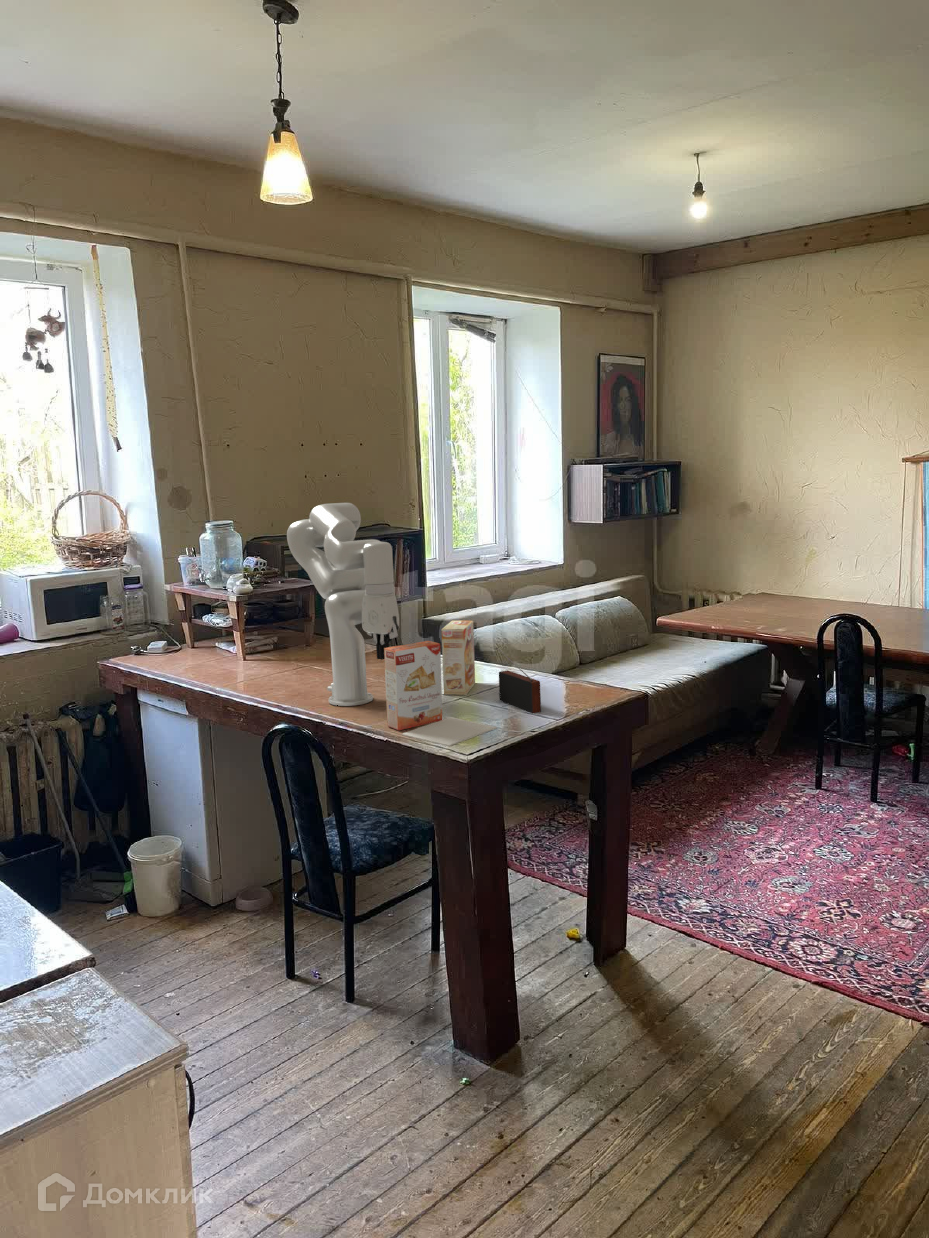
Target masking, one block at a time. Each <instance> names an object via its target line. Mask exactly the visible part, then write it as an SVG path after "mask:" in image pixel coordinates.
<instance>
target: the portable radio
mask: <svg viewBox="0 0 929 1238" xmlns="http://www.w3.org/2000/svg"><path fill="white" fill-rule="evenodd" d="M496 650H497V651H499V652H500V653H501V654H502V655H503V656H505V657H506V658H507V659H508V661H510V662H511V663H512V664H513V665H514V666H515V667H516V668H517V669H518V670H520V672H521V673H523V674H524V675H522V674H519V673H516V672H514V671H512V670H511V671H510V670H502V671H499V672H498V690H499V693H498V694H499V701H500V702H502V703H504V704H506V705H509V706H512V707H515V708H517V709H520V710H522V711H524V712H528V713H530V714H537V713H541V712H542V706H541V704H542V703H541V702H542V701H541V700H542V699H541V697H542V696H541V681H540V680H538V679H535V678H531V677H530V676H529V675H528V674H526V672H525V671H523V670H522V669H521V668H520V667H519V666H517V664H515V662H513V661H512V660H511V659H510V658H509V657H507V656H506V654H505V653H503V652H502V651H501V650H500V649H499V648H498V647H496Z"/></svg>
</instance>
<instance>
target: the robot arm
mask: <svg viewBox="0 0 929 1238" xmlns="http://www.w3.org/2000/svg"><path fill="white" fill-rule="evenodd" d="M308 517H309V518H306V519H301V520H297V521H295V522H292V523H291V524H290V525H289V526H288V529H287V531H286V539H287V545H288V548H289V550H290V552H291V555H292V556H293V558H294V559H295V561H296V562H297V563H298V564H299V565H300V566H301V568H302V569H304V571H305V572H306V573H307V574H308V577H309V579H310V581H311V582H312V583H313V585H314V587H315V589H316V590H317V592H318V594H319V595H320V596H321V597H322V598H323V599H324V600H325V602H324V612H325V613H324V614H325V617H326V621H327V626H328V631H329V641H330V652H331V654H330V657H331V671H332V683H330V685H328V686H327V687H326V690H327V691H329V692H331V696H329V697H328V703H329V704H330V705H333V706H337V705H338V707H339V706H341V707H354V706H359V705H364V704H368V703H371V702H372V701H373V700H374V695H373V694H372V693H370V692H368V686H367V685H368V684H367V667H366V649H365V647H366V646H365V639H364V637H363V635H362V633H361V632H360V631H359V630H358V628H356V625H359V624H361V627H362V630H363V631H364V632H365V633H366V634H367V635H368V636H370V637H372V639H373V643H374V644H375V648H376V659H377V660H385V656H384V648H388V647H390V644H391V643H392V640H393V639H396V638H398V637H399V635H398V632H399V630H400V614H399V607H398V601H397V598H396V597H397V596H396V595H395V586H394V585H395V584H394V583H395V581H394V563H393V547H392V545H391V543H389V542H387V541H380V540H379V539H374V538H373V539H363V540H362V539H360V540H359V539H358V540H355V538H356V535H357V534H356V533H357V530H359V528H360V526H361V523H362V522H361V521H362V518H361V517H362V516H361V513H360V510H359V509H358V506H356V505H355V504H353V503H351V502H337V503H335V502H334V503H323V504H319V505H316V506H314V507H313V508H312V509H311V511H310V513H309V516H308ZM322 547H323V550H322V549H320V548H322Z"/></svg>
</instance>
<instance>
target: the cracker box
mask: <svg viewBox="0 0 929 1238" xmlns="http://www.w3.org/2000/svg"><path fill="white" fill-rule="evenodd" d="M441 654H442V650H441V643H438V642H435V641H431V640H425V641H419V642H418V641H417V642H414V643H407V644H401V645H395V646H389V647H388V648H384V656H385V659H384V674H385V675H384V677H385V679H384V680H385V682H384V683H385V700H386V701H385V702H386V703H385V704H386V705H385V706H386V723H387V726H386V727H389V728H391V729H394V730H397V731H403V730H407V729H412V728H416V727H422V726H426V725H429V724H432V723H435V722H438V721H441V720H443V698H442V697H443V692H442V658H441V657H442V655H441Z"/></svg>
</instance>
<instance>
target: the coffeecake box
mask: <svg viewBox="0 0 929 1238" xmlns="http://www.w3.org/2000/svg"><path fill="white" fill-rule="evenodd" d="M440 631H441V654H442V655H441V657H442V658H441V659H442V678H443V681H442V683H443V695H444V696H445V695H448V696H449V695H451V696H467V695H468V693H469V692H470V691H471V689H472V688H474V685H475V684H476V672H475V671H476V669H475V668H476V667H475V666H476V665H475V664H476V663H475V641H474V640H475V638H474V637H475V635H474V620H465V619H464V620H451V621H449V622H448V623H447V624H446V625H445V626H444V627H443V628H441V630H440Z"/></svg>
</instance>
